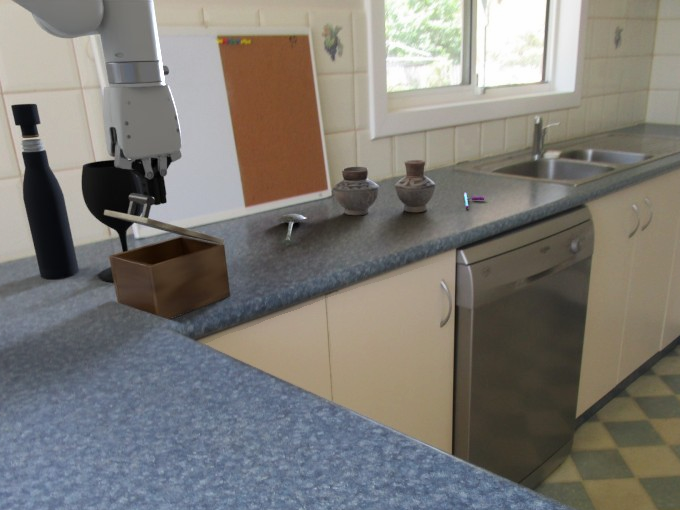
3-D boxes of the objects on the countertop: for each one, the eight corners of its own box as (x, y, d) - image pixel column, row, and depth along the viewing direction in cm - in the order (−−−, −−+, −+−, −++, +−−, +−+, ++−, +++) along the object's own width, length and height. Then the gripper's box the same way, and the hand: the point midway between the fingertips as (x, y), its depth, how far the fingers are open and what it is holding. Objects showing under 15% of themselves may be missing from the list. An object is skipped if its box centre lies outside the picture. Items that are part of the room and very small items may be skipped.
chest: (160, 323, 99) (151, 267, 96) (118, 309, 105) (108, 255, 101) (230, 295, 109) (224, 244, 106) (189, 284, 115) (182, 235, 112)
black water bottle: (53, 281, 118) (15, 106, 107) (33, 275, 121) (-6, 105, 111) (86, 271, 123) (52, 103, 112) (66, 266, 126) (32, 102, 116)
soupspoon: (308, 223, 156) (280, 225, 156) (306, 209, 155) (278, 211, 155) (302, 245, 136) (270, 248, 135) (300, 229, 134) (268, 232, 134)
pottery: (439, 214, 159) (439, 164, 155) (334, 219, 156) (331, 168, 152) (431, 204, 169) (431, 156, 165) (333, 208, 167) (330, 161, 163)
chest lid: (146, 223, 94) (153, 194, 94) (103, 214, 99) (109, 187, 99) (223, 244, 106) (229, 218, 106) (181, 235, 112) (186, 210, 112)
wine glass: (128, 285, 115) (107, 170, 108) (85, 278, 119) (63, 166, 112) (171, 268, 124) (155, 160, 117) (130, 262, 128) (112, 157, 121)
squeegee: (486, 205, 163) (466, 205, 163) (486, 208, 163) (466, 208, 164) (482, 192, 177) (464, 192, 177) (482, 195, 177) (464, 195, 178)
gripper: (163, 73, 102) (180, 191, 108) (71, 78, 90) (96, 210, 97) (195, 73, 98) (211, 196, 104) (103, 78, 86) (127, 216, 93)
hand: (156, 202), depth 100 cm, fingers closed
